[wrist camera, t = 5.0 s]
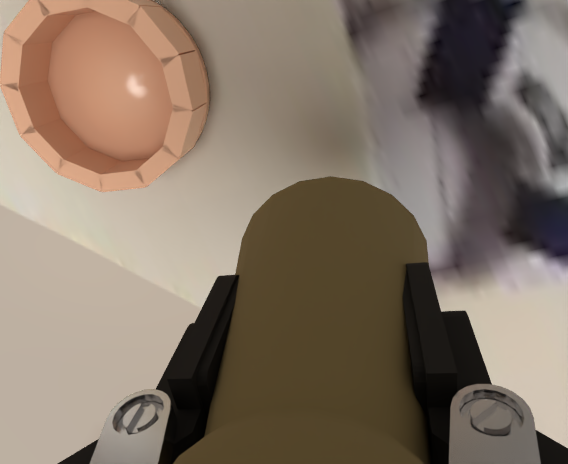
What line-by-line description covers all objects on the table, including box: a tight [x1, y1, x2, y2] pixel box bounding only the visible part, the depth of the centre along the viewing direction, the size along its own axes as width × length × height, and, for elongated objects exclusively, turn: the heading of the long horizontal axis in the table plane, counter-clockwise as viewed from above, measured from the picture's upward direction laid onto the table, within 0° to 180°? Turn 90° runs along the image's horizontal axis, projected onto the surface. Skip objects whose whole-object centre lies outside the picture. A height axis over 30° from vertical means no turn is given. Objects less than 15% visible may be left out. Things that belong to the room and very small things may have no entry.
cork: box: [173, 177, 431, 464], centre depth 10 cm, size 6×6×11 cm
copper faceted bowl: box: [0, 0, 210, 192], centre depth 25 cm, size 10×10×4 cm
